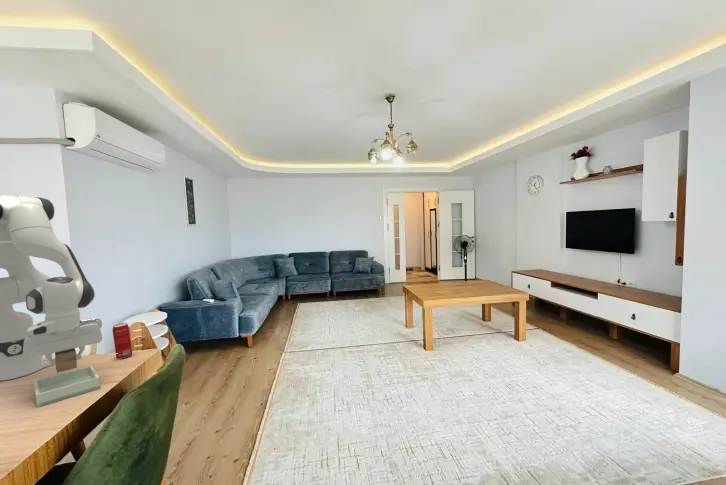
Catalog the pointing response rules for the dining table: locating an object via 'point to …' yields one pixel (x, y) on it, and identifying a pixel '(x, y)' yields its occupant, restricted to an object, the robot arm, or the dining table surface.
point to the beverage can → (122, 340)
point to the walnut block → (65, 360)
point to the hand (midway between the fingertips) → (66, 362)
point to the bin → (65, 385)
